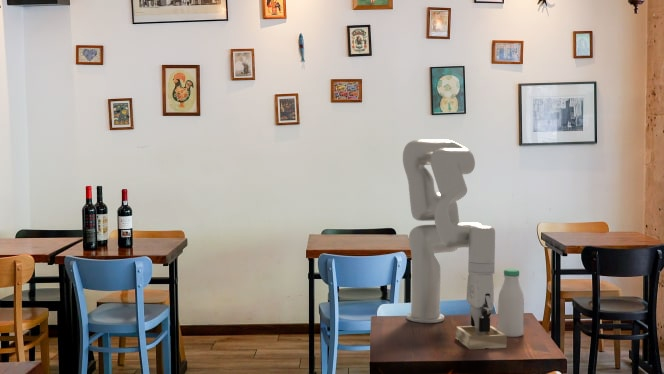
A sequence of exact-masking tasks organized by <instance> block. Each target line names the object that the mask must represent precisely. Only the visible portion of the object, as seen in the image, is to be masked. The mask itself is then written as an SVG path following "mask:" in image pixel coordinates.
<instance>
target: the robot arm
mask: <svg viewBox="0 0 664 374" xmlns="http://www.w3.org/2000/svg"><path fill="white" fill-rule="evenodd" d="M402 164H403V168H404V171H405V175H406V178H407V182H408V192H409V194H408V195H409V202H410V204H409V206H410V211H411V216H412V218H413V219H414V220H416V221H420V222H429V221H430V222H431V221H434V224H421V225H417V226H414V227H413V228H412V229H411V230H410V232H409V235H408V243H409V248H410V254H411V255H410V256H411V300H410V301H411V306H410V307H411V309H410V310H411V311H410V312H408V313H407V314H406V319H407V320H408V321H411V322H414V323H421V324H433V323H434V324H436V323H441V322H444V320H445V315H444V314H442V313H441V264H440V262H439V261H438V259H437V258H436V255H435V254H441V253H452V252H455V251H457V250H458V249H460V248H461V249H462V248H468V264H467V265H468V267H467V268H468V270H467V272H468V276H467V284H466V285H467V286H466V302H467V303H468V304H469V305H470V306H471V305H473V306H474V307H476V308H479V309H480V317H481V318H479V331H480V332H489V331H490V325H491V318H492V317H491V316H492V312H493V311H494V310H493V307H494V299H495V298H494V297H495V292H494V289H495V288H494V274H495V270H496V269H495V268H496V267H495V263H496V261H495V259H496V229H495V227H493V226H491V225H484V224H482V223H480V222H476V221H475V222H474V221H470V222H469V221H467V222H460V218H459V217H460V216H459V215H460V214H459V210H458V209H459V207H458V203H457V202H458V201H459V200H461V199H463V198H464V197H465V196H466V194H467V193H468V188H467V184H466V182H465V179H464V175H468V174H469V175H470V174H471V173H472V172H473V171H474V170H475V166H476V160H475V155H474V154H473V153H472V152H471V150H470V149H469V148H467V147H466V146H464V145H462V144H459V143H458V142H455V141H454V140H450V139H431V138H430V139H415V140H410V141H409V142H407V144H406V145H405V146H404V148H403V151H402ZM426 166H431V170H432V173H433V176H434V178H433V176H432V174H431V173H430V170H428V168H426ZM434 179H435V182H434ZM435 183H436V185H437V188H438V191H439V192H436V190H435ZM483 305H486V307H482V306H483ZM485 309H486V310H485ZM483 310H485V311H484V313H483ZM470 316H471V317H470V326H475V323H474V319H473V317H472V315H471V314H470Z"/></svg>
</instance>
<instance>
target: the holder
mask: <svg viewBox="0 0 664 374" xmlns="http://www.w3.org/2000/svg"><path fill="white" fill-rule="evenodd" d="M507 338H508V336H507V335H505V334H504V333H502V332H500V331H499V330H498V328H496V327H494V326H493V325H491V324H490V331H489V332H485V334H484V335H481V336H478V335H476V328H475V326H471V325H463V326H455V339H456V340H457V341H458V340H459V342H460V343H461V344H462V345H464V347H466V348H467V349H469V350H483V349H484V350H485V348H489V349H505V348H507Z"/></svg>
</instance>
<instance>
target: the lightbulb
mask: <svg viewBox="0 0 664 374" xmlns="http://www.w3.org/2000/svg"><path fill="white" fill-rule="evenodd" d="M482 307H486V305H483V306H482ZM485 310H486V309H485ZM485 310H483V313H484V311H485ZM469 313H470V316H471V315H472V317H473V319H474V323H475V328H476V335H478V336H481V335H484V334H485V332H480V331H479V318H481V317H480V309H479V308H476V307H474V306H473V305H470V307H469Z"/></svg>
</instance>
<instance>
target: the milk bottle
mask: <svg viewBox="0 0 664 374" xmlns="http://www.w3.org/2000/svg"><path fill="white" fill-rule="evenodd" d="M503 277H504V280H503V283H502V286H501V288H500V291H499V293H498V301H497V302H498V303H497V305H498V306H497V330H499V331H500V332H502V333H504V334H505V335H507V338H508V337H509V338H510V337H511V338H517V337H521V336H523V335H524V321H525V319H524V317H525V313H524V312H525V310H524V309H525V302H524V301H525V299H524V298H525V296H524V293H523V290H522V288H521V285H520V282H519V281H520V280H519V278H520V270H518V269H514V268H513V269H512V268H507V269H504V270H503Z"/></svg>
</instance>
